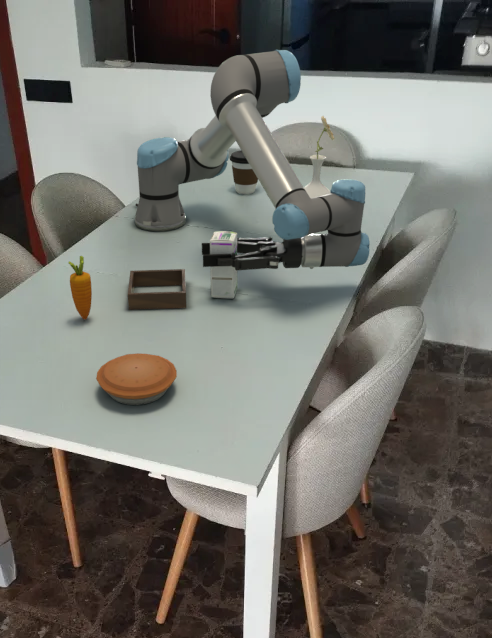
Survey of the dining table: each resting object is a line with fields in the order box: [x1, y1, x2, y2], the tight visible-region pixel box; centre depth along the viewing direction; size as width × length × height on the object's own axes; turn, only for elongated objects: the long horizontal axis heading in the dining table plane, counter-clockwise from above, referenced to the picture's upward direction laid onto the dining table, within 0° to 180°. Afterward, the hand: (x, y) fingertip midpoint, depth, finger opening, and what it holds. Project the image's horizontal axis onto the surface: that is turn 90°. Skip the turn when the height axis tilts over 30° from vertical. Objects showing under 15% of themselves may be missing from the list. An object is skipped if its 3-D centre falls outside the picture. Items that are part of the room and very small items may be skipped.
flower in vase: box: [303, 115, 335, 198], centre depth 216 cm, size 13×11×25 cm
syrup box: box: [209, 230, 238, 299], centre depth 166 cm, size 6×6×14 cm
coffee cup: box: [229, 150, 259, 195], centre depth 230 cm, size 11×11×12 cm
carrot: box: [67, 255, 93, 321], centre depth 157 cm, size 5×5×15 cm
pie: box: [95, 353, 178, 406], centre depth 136 cm, size 15×16×5 cm
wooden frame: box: [127, 268, 187, 311], centre depth 169 cm, size 14×14×4 cm
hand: (202, 254), depth 164 cm, fingers closed on syrup box, 6 cm apart
